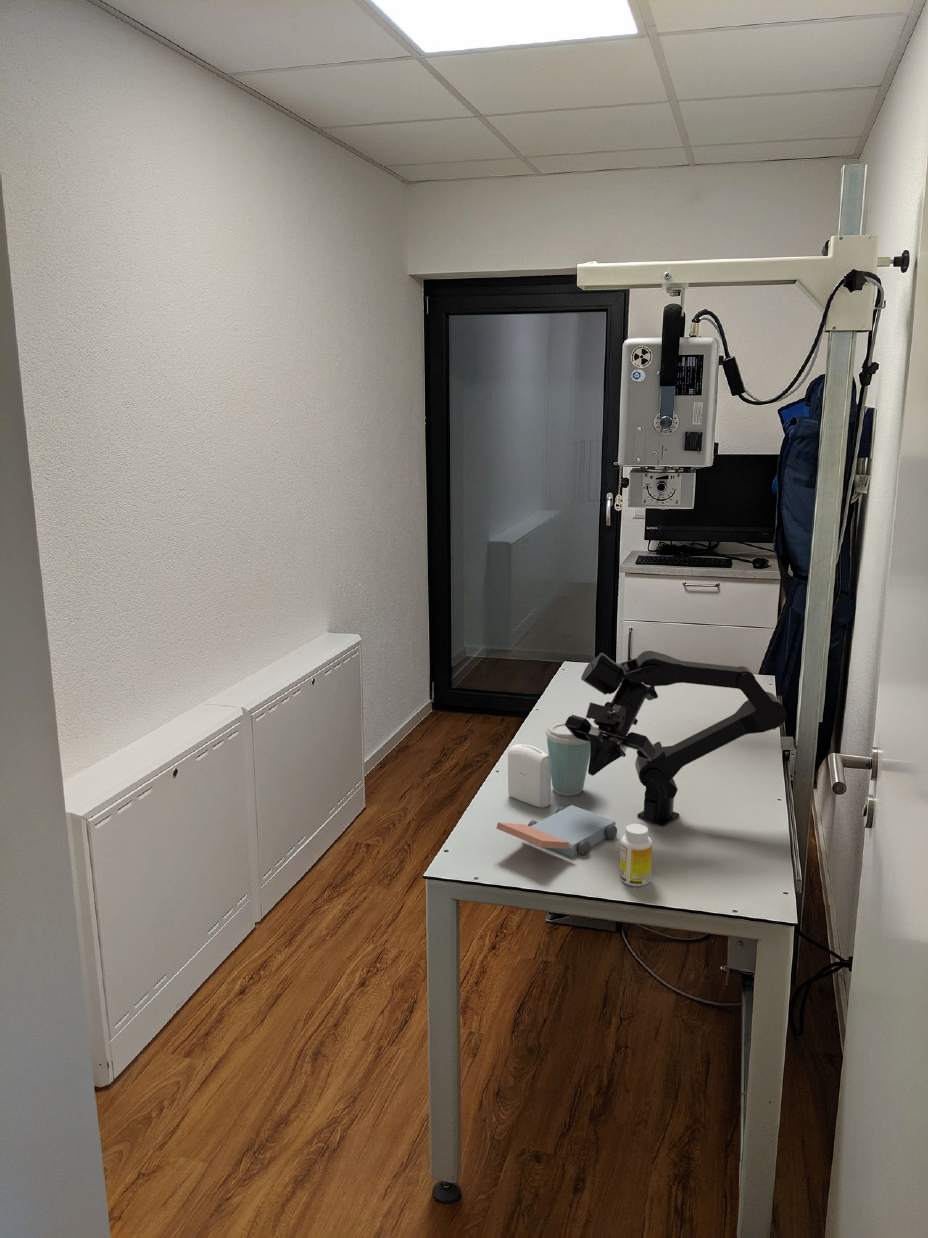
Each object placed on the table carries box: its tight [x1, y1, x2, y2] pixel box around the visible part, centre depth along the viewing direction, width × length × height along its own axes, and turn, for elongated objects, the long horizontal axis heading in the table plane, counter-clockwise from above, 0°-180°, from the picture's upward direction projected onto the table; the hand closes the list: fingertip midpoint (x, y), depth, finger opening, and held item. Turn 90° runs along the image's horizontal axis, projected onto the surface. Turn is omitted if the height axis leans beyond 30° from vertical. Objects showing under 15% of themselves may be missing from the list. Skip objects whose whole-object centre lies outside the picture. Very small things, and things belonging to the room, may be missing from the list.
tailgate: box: [496, 821, 574, 849], centre depth 181 cm, size 1×12×10 cm
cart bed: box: [527, 804, 618, 858], centre depth 190 cm, size 14×14×3 cm
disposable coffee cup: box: [545, 722, 590, 797], centre depth 210 cm, size 11×11×15 cm
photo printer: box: [507, 743, 552, 808], centre depth 205 cm, size 10×4×12 cm, turn 45°
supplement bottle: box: [619, 823, 653, 887], centre depth 172 cm, size 6×6×10 cm
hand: (590, 774), depth 186 cm, fingers closed
